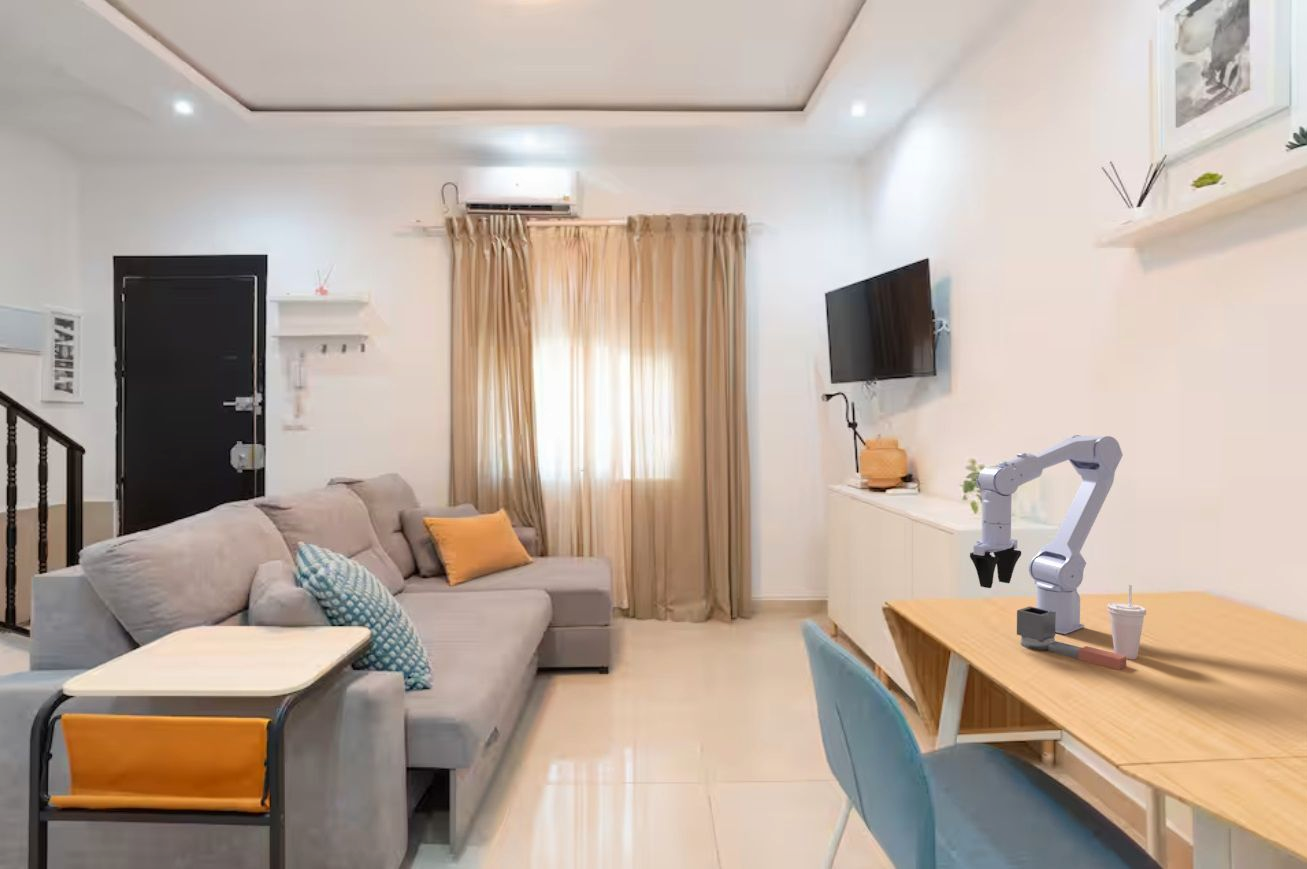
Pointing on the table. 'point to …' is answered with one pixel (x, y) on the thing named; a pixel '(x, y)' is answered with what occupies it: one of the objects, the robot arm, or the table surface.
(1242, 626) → the table surface
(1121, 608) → the smoothie
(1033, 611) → the hollow square tube
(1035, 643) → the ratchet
